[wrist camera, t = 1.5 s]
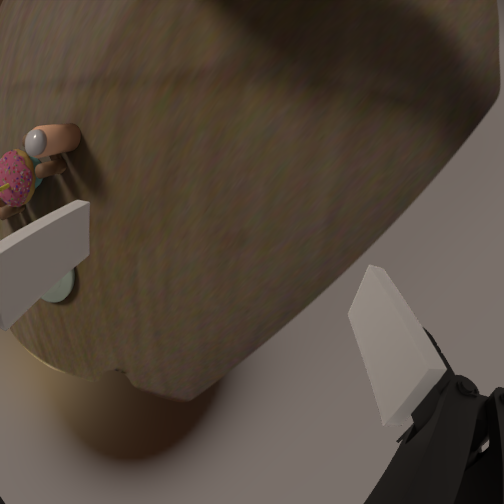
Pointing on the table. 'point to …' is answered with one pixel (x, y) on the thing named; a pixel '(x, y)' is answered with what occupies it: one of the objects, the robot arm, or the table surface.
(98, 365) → the table surface
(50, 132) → the shaker
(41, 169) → the rack
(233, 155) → the table surface
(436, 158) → the table surface
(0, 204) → the shaker
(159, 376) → the table surface
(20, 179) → the cupcake
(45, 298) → the plate
